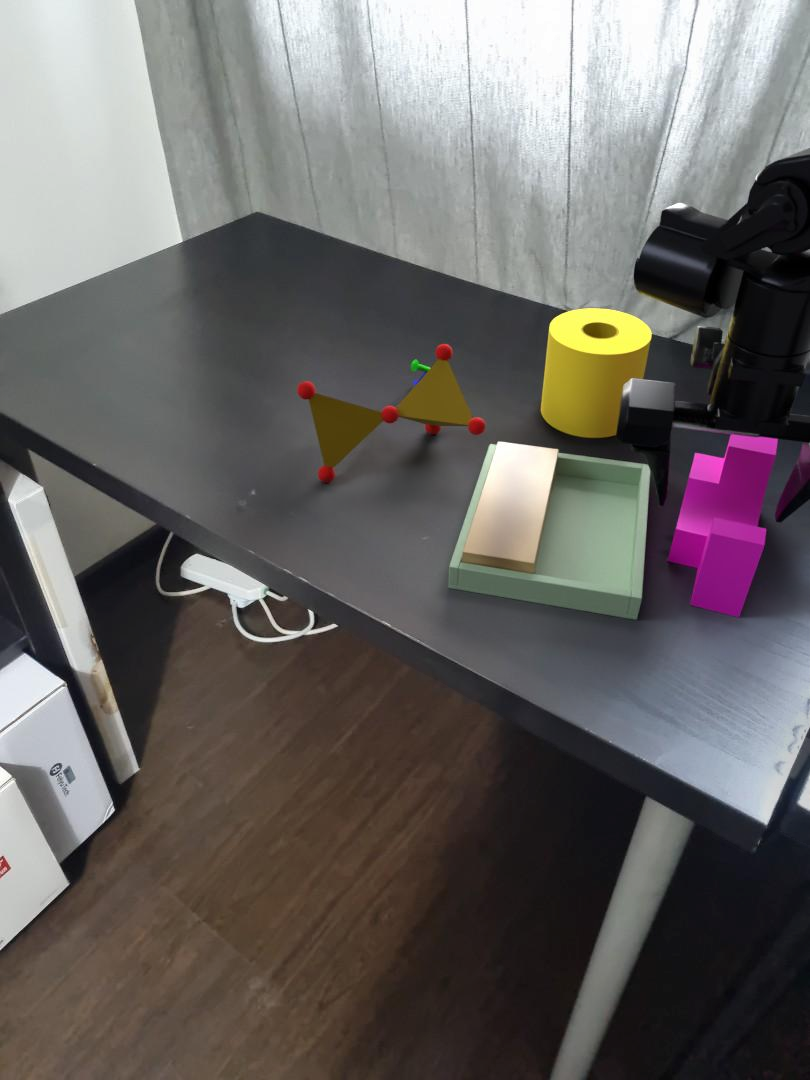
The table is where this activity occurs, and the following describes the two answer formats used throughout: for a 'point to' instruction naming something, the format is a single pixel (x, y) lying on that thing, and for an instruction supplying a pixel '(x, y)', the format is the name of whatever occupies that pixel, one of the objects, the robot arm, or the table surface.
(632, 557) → the frame
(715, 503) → the toy block
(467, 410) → the molecule model
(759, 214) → the robot arm
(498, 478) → the back pad
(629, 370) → the yellow hollow cylinder
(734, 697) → the table surface
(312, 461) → the table surface
